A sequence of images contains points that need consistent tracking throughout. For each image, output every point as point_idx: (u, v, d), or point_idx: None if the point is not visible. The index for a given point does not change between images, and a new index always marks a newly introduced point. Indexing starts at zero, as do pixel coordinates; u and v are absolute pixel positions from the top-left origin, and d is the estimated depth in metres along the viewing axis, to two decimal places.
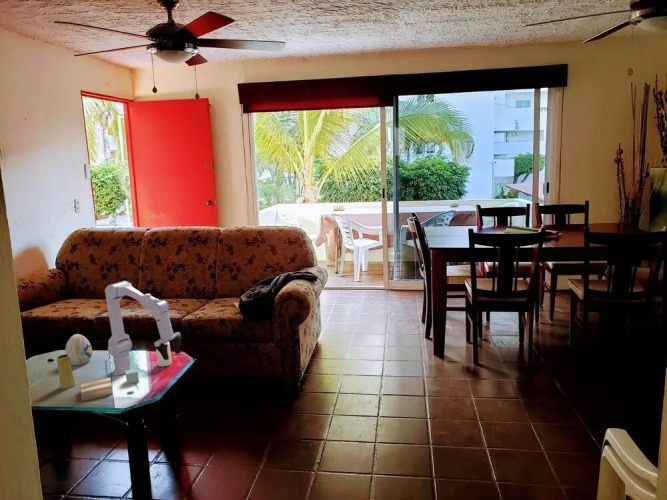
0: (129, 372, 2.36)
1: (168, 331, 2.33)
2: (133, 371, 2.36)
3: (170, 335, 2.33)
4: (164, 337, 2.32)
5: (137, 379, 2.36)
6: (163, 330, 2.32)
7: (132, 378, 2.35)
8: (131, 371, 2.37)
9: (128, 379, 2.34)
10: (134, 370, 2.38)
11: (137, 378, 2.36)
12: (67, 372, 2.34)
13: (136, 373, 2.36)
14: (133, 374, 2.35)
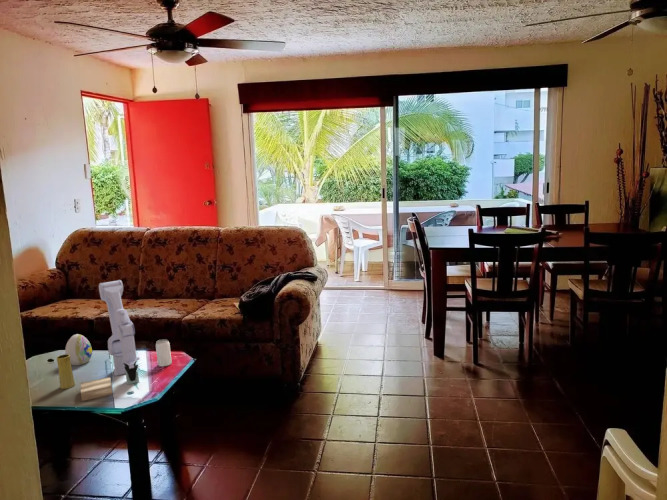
0: None
1: (135, 352, 2.36)
2: None
3: None
4: (132, 359, 2.34)
5: (137, 379, 2.36)
6: (132, 352, 2.34)
7: None
8: None
9: (128, 379, 2.34)
10: None
11: (137, 378, 2.36)
12: (67, 372, 2.34)
13: (136, 373, 2.36)
14: None
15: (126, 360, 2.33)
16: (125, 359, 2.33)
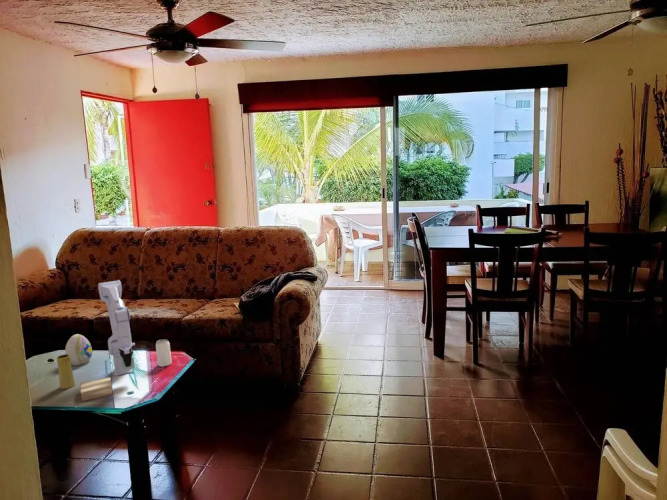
0: None
1: (130, 338, 2.34)
2: None
3: (131, 342, 2.35)
4: (127, 345, 2.32)
5: (132, 365, 2.34)
6: (127, 337, 2.32)
7: None
8: None
9: (123, 365, 2.33)
10: None
11: (132, 364, 2.34)
12: (67, 372, 2.34)
13: (131, 359, 2.34)
14: None
15: (121, 346, 2.31)
16: (120, 345, 2.31)
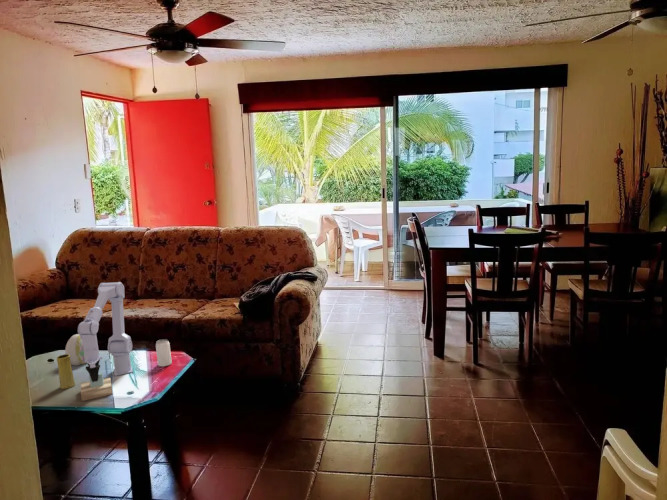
0: None
1: (98, 351, 2.25)
2: None
3: (98, 355, 2.26)
4: (94, 358, 2.23)
5: (101, 382, 2.26)
6: (94, 351, 2.23)
7: (96, 381, 2.25)
8: None
9: (91, 382, 2.24)
10: (99, 372, 2.28)
11: (101, 381, 2.26)
12: (67, 372, 2.34)
13: (100, 376, 2.25)
14: None
15: (88, 359, 2.23)
16: (87, 358, 2.23)
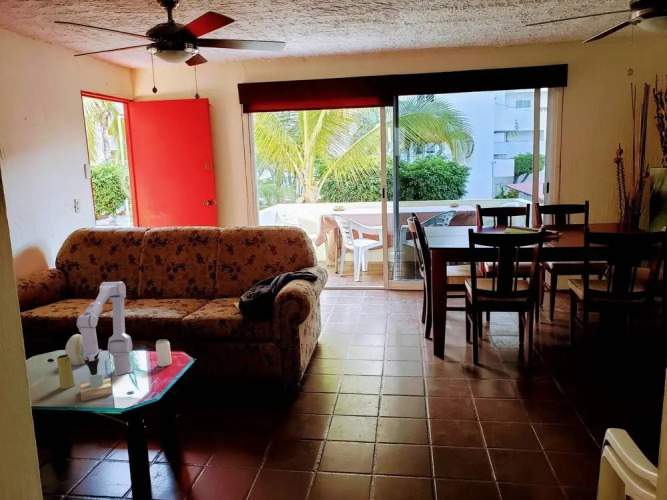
0: None
1: (97, 345, 2.25)
2: None
3: None
4: (93, 351, 2.23)
5: (101, 382, 2.26)
6: (93, 344, 2.23)
7: (96, 381, 2.25)
8: None
9: (91, 382, 2.24)
10: (99, 372, 2.28)
11: (101, 381, 2.26)
12: (67, 372, 2.34)
13: (100, 375, 2.25)
14: (97, 377, 2.25)
15: (87, 352, 2.22)
16: (86, 351, 2.22)
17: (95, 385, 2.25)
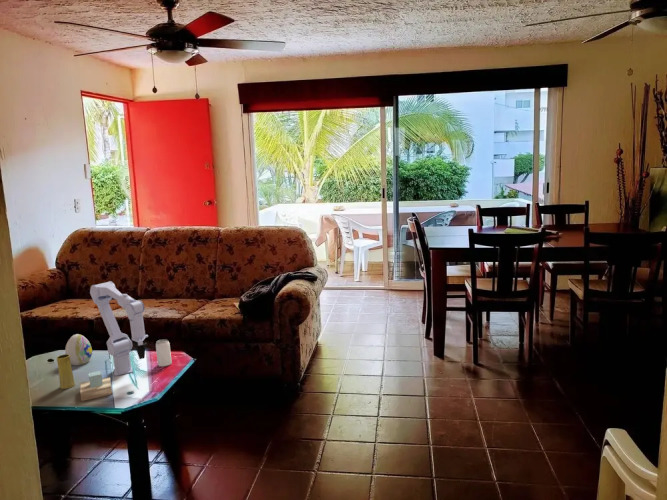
0: (92, 375, 2.25)
1: (144, 330, 2.38)
2: (96, 374, 2.26)
3: (144, 334, 2.39)
4: (141, 336, 2.37)
5: (101, 382, 2.26)
6: (141, 329, 2.36)
7: (95, 381, 2.25)
8: (94, 373, 2.26)
9: (91, 382, 2.24)
10: (98, 372, 2.28)
11: (101, 381, 2.26)
12: (67, 372, 2.34)
13: (100, 376, 2.25)
14: (96, 377, 2.25)
15: (135, 337, 2.36)
16: (134, 336, 2.36)
17: (95, 385, 2.25)
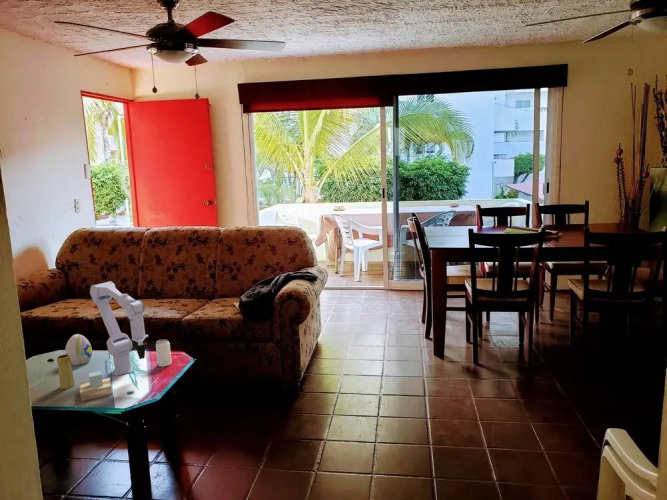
0: (92, 375, 2.25)
1: (144, 330, 2.38)
2: (96, 374, 2.26)
3: None
4: (141, 336, 2.37)
5: (101, 382, 2.26)
6: (141, 329, 2.36)
7: (95, 381, 2.25)
8: (95, 374, 2.26)
9: (91, 382, 2.24)
10: (98, 372, 2.27)
11: (101, 381, 2.26)
12: (67, 372, 2.34)
13: (100, 376, 2.25)
14: (96, 377, 2.25)
15: (135, 337, 2.36)
16: (134, 336, 2.36)
17: (95, 385, 2.25)
